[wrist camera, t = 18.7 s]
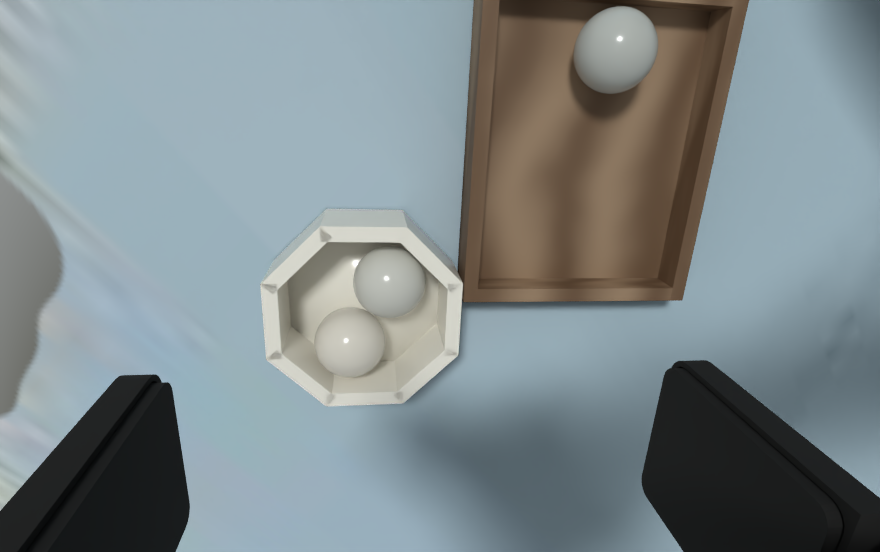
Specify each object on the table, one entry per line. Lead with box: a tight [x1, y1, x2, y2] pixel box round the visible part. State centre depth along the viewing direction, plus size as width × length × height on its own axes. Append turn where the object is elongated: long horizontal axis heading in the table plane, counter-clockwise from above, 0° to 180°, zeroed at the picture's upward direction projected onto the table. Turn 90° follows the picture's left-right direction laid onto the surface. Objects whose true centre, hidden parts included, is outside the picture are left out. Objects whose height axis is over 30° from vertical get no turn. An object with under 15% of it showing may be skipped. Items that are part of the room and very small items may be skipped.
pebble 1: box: [314, 307, 385, 377], centre depth 37 cm, size 5×5×5 cm
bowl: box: [260, 209, 463, 406], centre depth 36 cm, size 13×13×5 cm
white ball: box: [353, 246, 426, 318], centre depth 35 cm, size 5×5×5 cm
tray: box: [458, 0, 749, 302], centre depth 36 cm, size 17×21×3 cm
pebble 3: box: [573, 6, 658, 94], centre depth 32 cm, size 5×5×5 cm
